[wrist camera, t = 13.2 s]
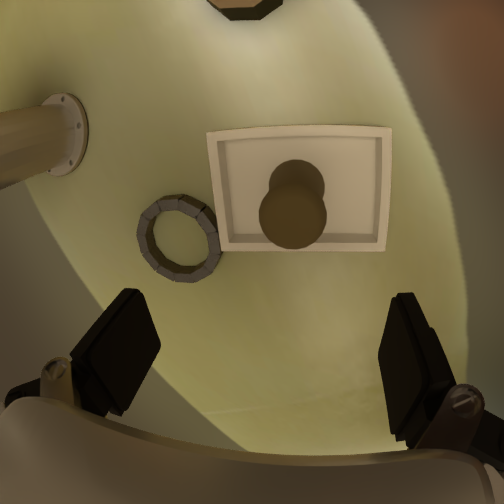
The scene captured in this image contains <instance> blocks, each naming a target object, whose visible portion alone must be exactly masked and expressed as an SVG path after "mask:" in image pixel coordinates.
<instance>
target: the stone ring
mask: <svg viewBox="0 0 504 504" xmlns="http://www.w3.org/2000/svg"><path fill="white" fill-rule="evenodd" d="M171 210H179V211H181V212H183V213H185V214H187V215H189V216H191V217H193V218H195V219H196V221H197V222H198V223H199V225H200V226H201V227H202V229H203V230H204V231H205V233H206V234H207V239H208V245H209V251H210V253H209V255H208V257H207V259H206V261H204V262H202V263H200V264H199V265H197V266H180V265H178V264H176V263H174V262H172V261H170V260H169V259H167V258H166V257H165V256H164V255H163V254H162V252H161V251H160V250H159V248H158V247H157V246H156V243H155V239H154V235H153V230H152V229H153V226H154V222H155V219H156V216H157V215H158V214H159V213H160V212H161V211H171ZM136 233H137V234H136V235H137V239H138V243H139V247H140V251H141V253H144V254H143V255H142V256H143V257H144V258H145V259H146V261H147V262H148V263H149V264H150V266H151V267H152V268H153V269H154V271H155V270H157V271H156V272H157V273H159V274H161V275H162V276H164V277H166V278H168V279H170V280H172V281H174V280H175V282H187V283H194V282H197V281H199V280H201V279H203V278H205V277H206V276H208V275H210V274H211V273H212V272H213V271H214V269H215V267H216V265H217V264H218V261H219V259H220V257H221V255H222V253H223V251H221V245H220V238H219V231H218V224H217V217H216V216H215V215H214V213H213V212H212V210H211V209H210V208H209V206H207V207H206V204H205V203H203V202H201V201H199V200H196V199H194V198H192V197H190V196H188V195H185V194H182V195H170V196H164V197H162V198H160V199H159V200H157V201H156V202H155V203H153V204H152V205H151V206H150V207H149V208H148V209H146V210H145V211H144V212H143V213H142V214H141V217H140V220H139V224H138V228H137V232H136Z"/></svg>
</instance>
